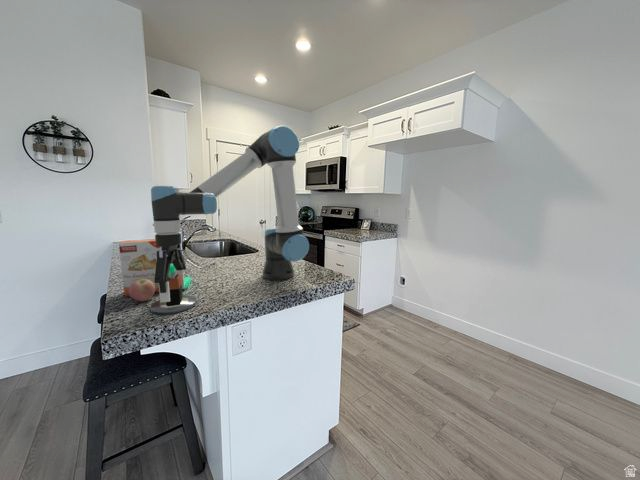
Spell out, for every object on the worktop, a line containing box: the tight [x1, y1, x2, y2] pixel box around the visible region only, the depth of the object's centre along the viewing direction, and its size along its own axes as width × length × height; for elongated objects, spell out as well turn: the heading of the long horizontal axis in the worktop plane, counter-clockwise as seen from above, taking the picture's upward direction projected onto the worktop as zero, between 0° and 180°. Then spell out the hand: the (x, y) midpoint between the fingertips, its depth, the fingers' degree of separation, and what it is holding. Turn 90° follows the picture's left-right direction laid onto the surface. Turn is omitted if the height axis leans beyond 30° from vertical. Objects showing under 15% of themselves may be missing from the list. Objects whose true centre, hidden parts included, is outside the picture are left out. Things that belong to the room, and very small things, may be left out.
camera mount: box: [168, 263, 192, 290], centre depth 110 cm, size 12×8×10 cm, turn 16°
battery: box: [166, 273, 184, 306], centre depth 91 cm, size 4×7×10 cm, turn 21°
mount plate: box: [150, 294, 198, 316], centre depth 92 cm, size 14×14×1 cm
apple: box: [129, 279, 156, 302], centre depth 96 cm, size 8×8×8 cm
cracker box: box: [118, 238, 162, 297], centre depth 104 cm, size 14×6×21 cm, turn 115°
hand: (173, 294), depth 91 cm, fingers open, 13 cm apart
